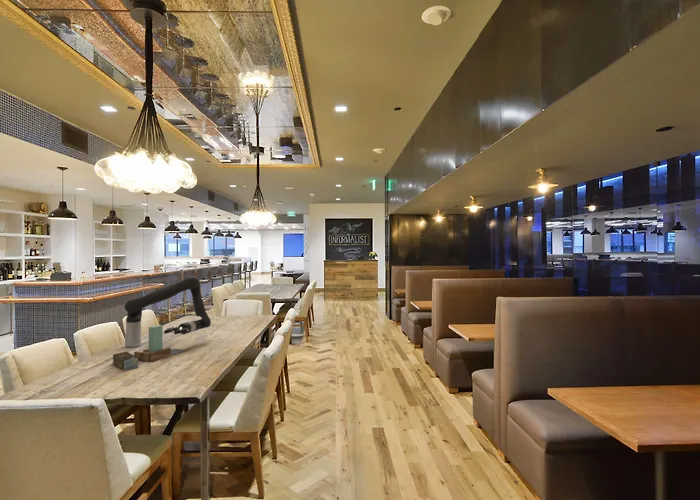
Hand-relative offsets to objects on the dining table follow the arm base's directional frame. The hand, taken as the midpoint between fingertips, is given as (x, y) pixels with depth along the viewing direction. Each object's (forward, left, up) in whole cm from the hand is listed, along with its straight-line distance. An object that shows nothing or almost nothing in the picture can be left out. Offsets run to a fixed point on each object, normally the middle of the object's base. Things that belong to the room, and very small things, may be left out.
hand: (169, 332), depth 249 cm
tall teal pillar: (-6, -10, -14) cm, 18 cm away
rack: (-8, -7, -14) cm, 17 cm away
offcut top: (-10, -7, -11) cm, 17 cm away
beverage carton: (-18, -23, -14) cm, 33 cm away
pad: (+2, +4, -14) cm, 15 cm away
